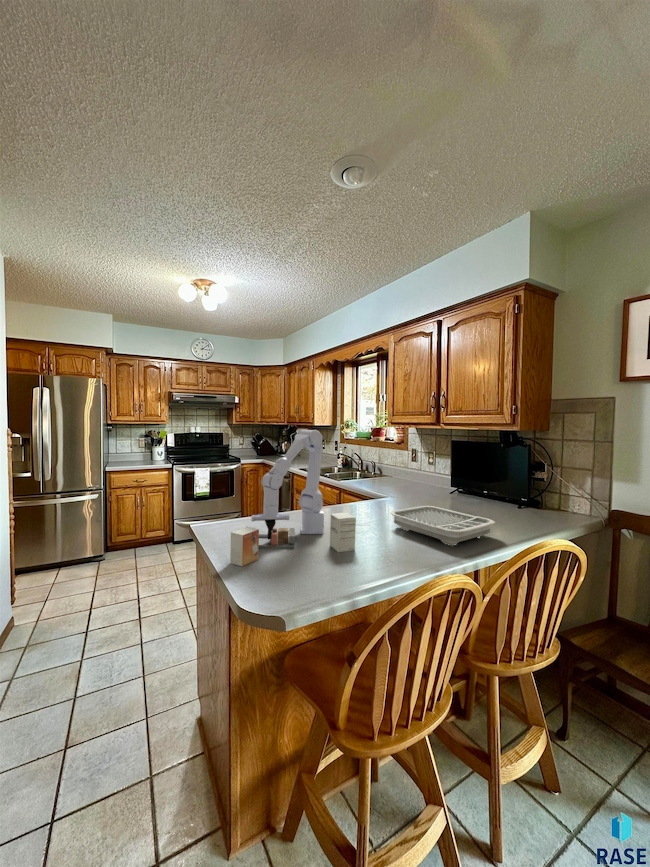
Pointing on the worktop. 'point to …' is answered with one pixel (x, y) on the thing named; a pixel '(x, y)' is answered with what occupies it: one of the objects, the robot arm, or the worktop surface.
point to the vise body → (290, 545)
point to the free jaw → (274, 536)
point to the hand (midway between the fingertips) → (269, 538)
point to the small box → (244, 546)
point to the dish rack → (442, 523)
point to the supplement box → (342, 532)
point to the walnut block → (283, 535)
